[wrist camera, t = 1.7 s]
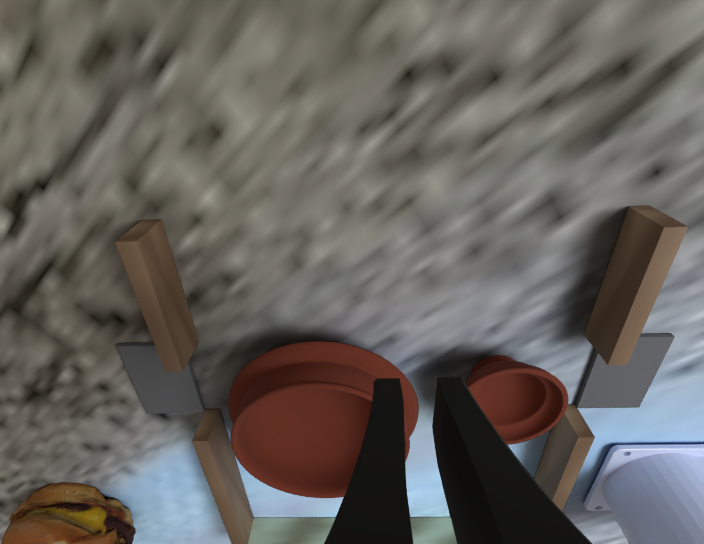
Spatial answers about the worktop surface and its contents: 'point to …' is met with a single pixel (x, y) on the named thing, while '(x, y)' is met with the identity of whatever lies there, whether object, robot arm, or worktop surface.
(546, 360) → the worktop surface
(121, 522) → the burger
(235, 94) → the worktop surface
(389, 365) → the pottery
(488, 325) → the worktop surface
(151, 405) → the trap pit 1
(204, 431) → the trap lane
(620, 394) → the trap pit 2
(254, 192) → the worktop surface
